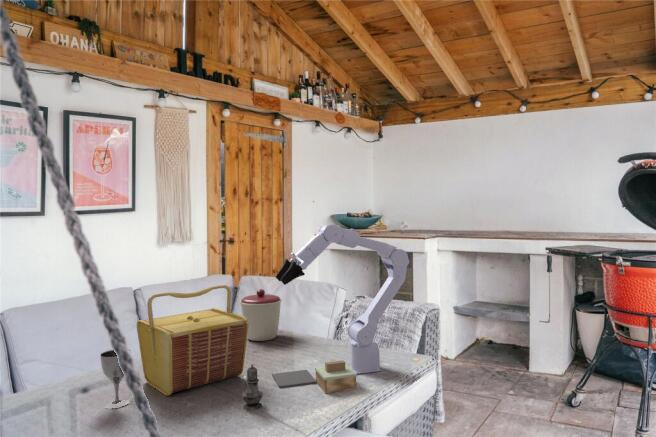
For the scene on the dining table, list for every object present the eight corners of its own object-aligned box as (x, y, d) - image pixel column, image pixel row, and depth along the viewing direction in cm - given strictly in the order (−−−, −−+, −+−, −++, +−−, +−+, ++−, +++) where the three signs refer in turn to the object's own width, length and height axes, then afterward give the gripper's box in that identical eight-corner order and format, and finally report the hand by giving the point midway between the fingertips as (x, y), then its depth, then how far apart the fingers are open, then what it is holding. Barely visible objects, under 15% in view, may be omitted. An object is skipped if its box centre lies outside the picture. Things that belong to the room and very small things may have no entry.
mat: (306, 371, 170) (306, 369, 170) (316, 383, 158) (316, 381, 158) (272, 375, 166) (271, 373, 166) (279, 388, 154) (279, 386, 154)
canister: (291, 338, 213) (290, 288, 212) (256, 346, 200) (255, 294, 200) (266, 330, 226) (265, 284, 225) (232, 338, 214) (230, 289, 213)
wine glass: (113, 412, 139) (111, 358, 138) (96, 406, 143) (94, 354, 142) (137, 402, 145) (136, 351, 145) (120, 397, 150) (119, 347, 149)
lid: (345, 368, 162) (345, 355, 162) (356, 379, 152) (356, 365, 152) (314, 372, 159) (314, 359, 159) (324, 383, 149) (324, 369, 149)
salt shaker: (259, 411, 138) (258, 368, 137) (239, 409, 139) (238, 367, 138) (266, 402, 143) (265, 361, 143) (246, 401, 144) (245, 360, 144)
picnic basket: (167, 404, 144) (164, 300, 143) (134, 381, 163) (131, 290, 162) (253, 379, 163) (251, 288, 162) (214, 361, 182) (212, 280, 182)
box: (345, 378, 162) (345, 366, 162) (356, 389, 153) (356, 376, 152) (315, 382, 159) (315, 369, 159) (325, 393, 150) (324, 380, 149)
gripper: (296, 241, 170) (267, 269, 167) (308, 244, 156) (276, 274, 153) (310, 256, 171) (281, 284, 169) (322, 260, 158) (291, 291, 155)
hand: (279, 280), depth 161 cm, fingers open, 7 cm apart
